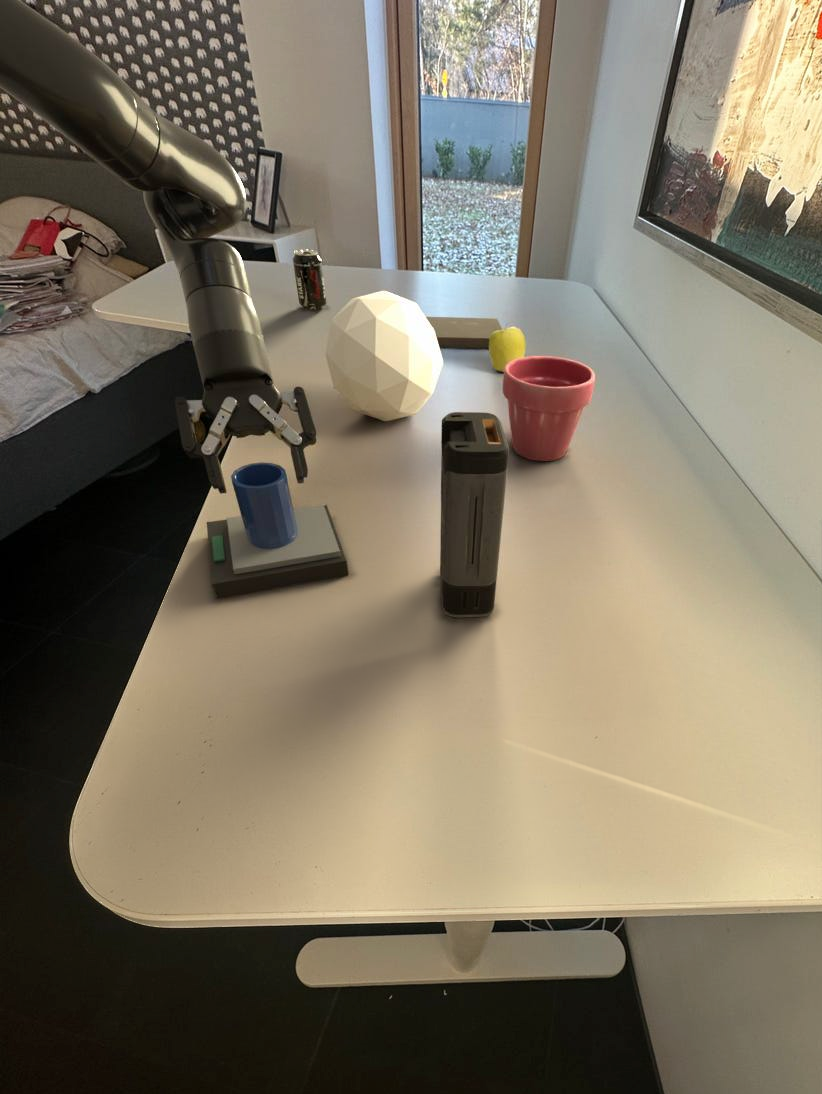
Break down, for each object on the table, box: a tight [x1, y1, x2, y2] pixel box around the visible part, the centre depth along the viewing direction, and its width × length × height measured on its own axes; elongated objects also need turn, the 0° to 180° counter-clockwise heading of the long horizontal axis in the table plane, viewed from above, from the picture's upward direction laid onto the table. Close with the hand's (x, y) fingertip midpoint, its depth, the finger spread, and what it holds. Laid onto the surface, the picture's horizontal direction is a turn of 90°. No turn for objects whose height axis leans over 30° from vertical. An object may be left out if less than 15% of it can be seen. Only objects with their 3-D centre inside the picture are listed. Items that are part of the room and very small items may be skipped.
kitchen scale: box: [206, 503, 349, 600], centre depth 70 cm, size 15×13×3 cm
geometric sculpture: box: [325, 290, 444, 422], centre depth 96 cm, size 19×20×20 cm
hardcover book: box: [425, 316, 503, 350], centre depth 134 cm, size 16×23×2 cm
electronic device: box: [439, 411, 510, 618], centre depth 61 cm, size 9×6×20 cm, turn 6°
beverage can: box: [292, 249, 327, 311], centre depth 142 cm, size 7×7×12 cm
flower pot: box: [502, 355, 596, 462], centre depth 91 cm, size 14×14×13 cm
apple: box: [488, 324, 526, 373], centre depth 119 cm, size 8×8×10 cm
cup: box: [230, 461, 298, 549], centre depth 66 cm, size 6×6×8 cm
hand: (262, 486), depth 64 cm, fingers open, 8 cm apart
